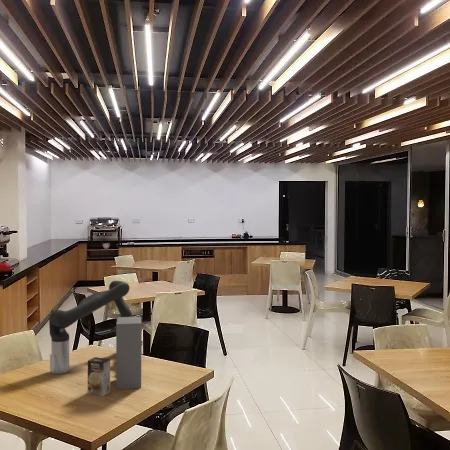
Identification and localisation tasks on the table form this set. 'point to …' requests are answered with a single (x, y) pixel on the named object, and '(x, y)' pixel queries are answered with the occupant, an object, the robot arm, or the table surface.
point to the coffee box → (98, 376)
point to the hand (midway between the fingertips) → (130, 348)
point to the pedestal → (128, 352)
